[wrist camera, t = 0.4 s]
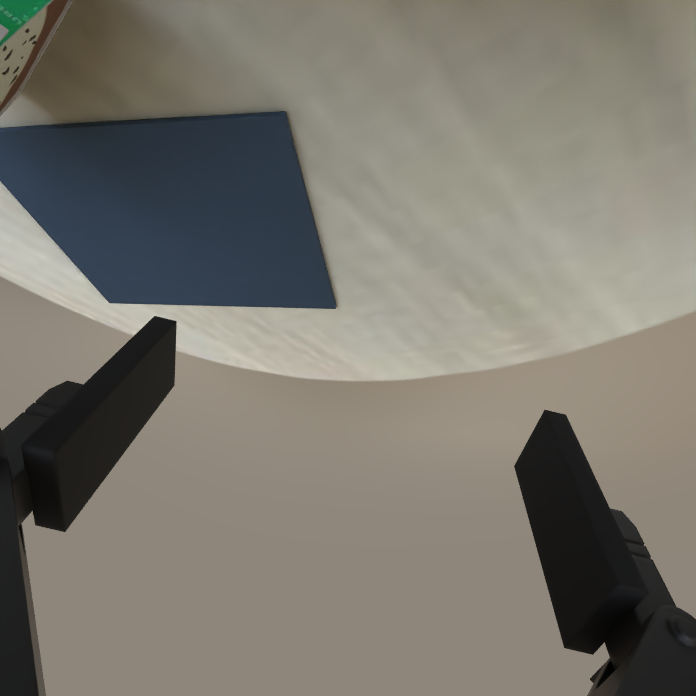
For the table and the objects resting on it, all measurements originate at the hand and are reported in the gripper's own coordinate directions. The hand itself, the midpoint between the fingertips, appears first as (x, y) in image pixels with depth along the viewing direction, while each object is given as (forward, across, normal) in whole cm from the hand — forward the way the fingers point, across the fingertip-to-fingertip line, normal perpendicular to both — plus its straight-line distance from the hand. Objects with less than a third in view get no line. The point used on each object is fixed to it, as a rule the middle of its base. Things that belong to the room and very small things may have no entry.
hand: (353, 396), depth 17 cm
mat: (+17, -14, -2) cm, 22 cm away
